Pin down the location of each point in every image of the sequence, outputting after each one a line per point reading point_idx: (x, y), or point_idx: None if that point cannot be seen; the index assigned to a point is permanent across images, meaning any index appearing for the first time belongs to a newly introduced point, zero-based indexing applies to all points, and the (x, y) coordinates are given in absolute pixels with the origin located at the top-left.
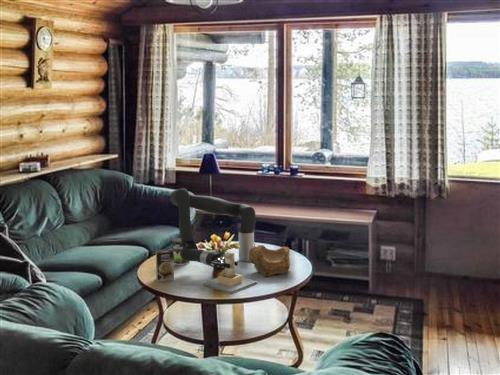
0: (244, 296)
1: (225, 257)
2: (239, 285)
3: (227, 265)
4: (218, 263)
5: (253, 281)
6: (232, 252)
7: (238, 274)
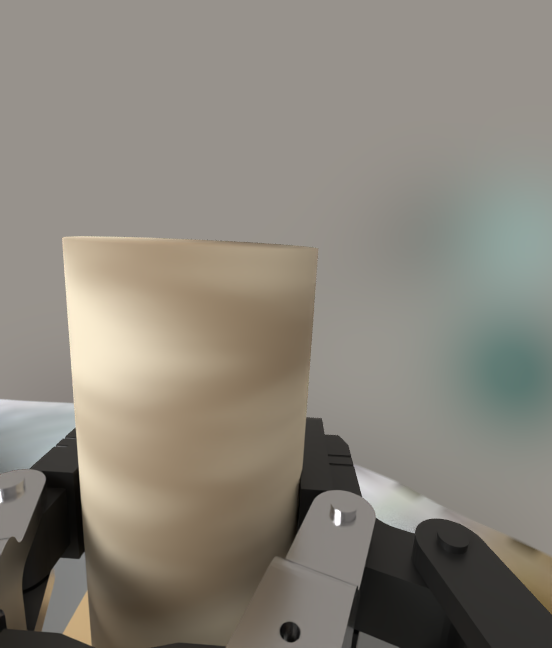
0: (360, 480)
1: (304, 356)
2: None
3: (343, 444)
4: (498, 564)
5: None
6: (132, 238)
7: (77, 612)
